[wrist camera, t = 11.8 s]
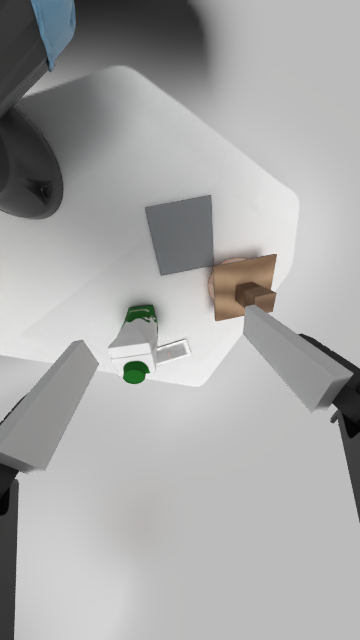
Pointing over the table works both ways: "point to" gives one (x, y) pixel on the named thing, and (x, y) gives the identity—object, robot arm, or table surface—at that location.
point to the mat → (182, 234)
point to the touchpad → (172, 352)
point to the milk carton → (136, 345)
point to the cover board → (236, 277)
